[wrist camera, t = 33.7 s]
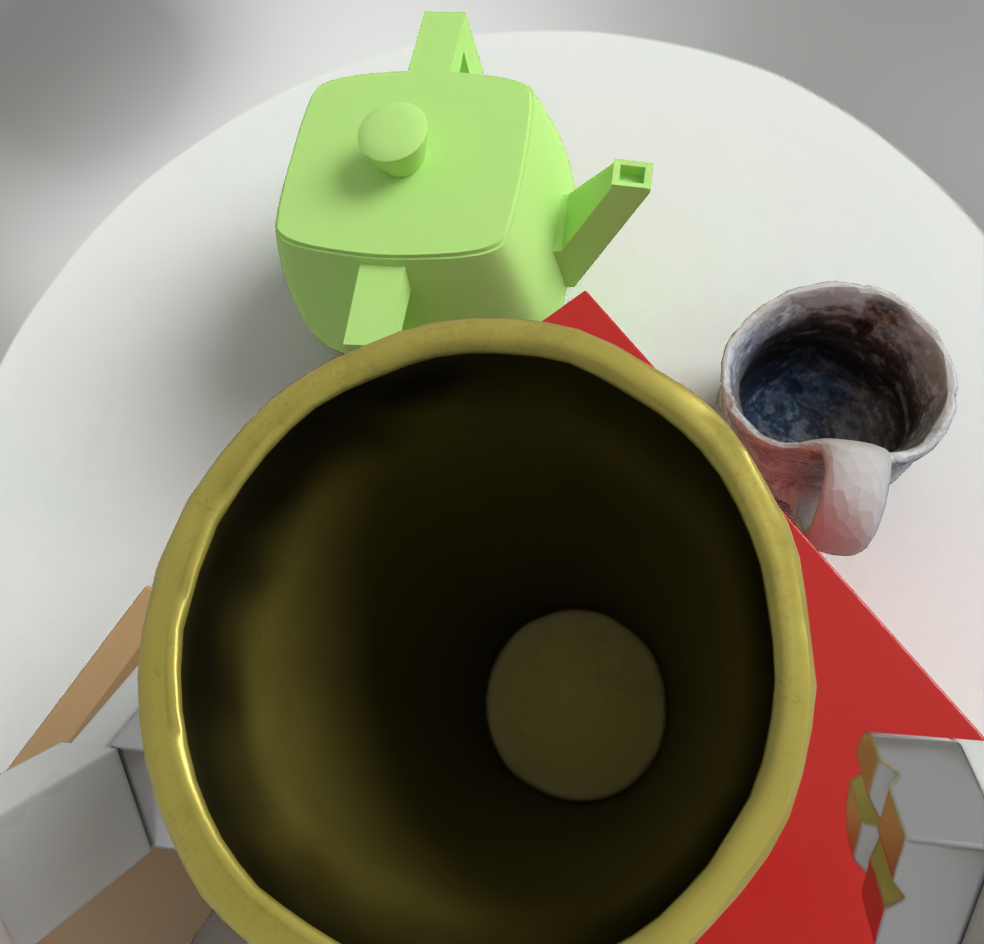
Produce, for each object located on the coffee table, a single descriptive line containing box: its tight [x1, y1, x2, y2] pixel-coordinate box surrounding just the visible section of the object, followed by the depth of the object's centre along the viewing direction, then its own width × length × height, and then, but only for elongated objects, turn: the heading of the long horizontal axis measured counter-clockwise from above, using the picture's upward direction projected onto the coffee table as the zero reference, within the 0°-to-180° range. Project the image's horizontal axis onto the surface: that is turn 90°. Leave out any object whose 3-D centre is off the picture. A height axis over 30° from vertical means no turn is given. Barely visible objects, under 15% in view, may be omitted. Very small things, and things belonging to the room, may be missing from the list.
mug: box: [715, 281, 958, 556], centre depth 36 cm, size 10×12×10 cm
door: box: [6, 586, 213, 944], centre depth 31 cm, size 6×18×20 cm, turn 146°
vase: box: [137, 318, 817, 944], centre depth 13 cm, size 6×6×14 cm
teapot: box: [275, 12, 653, 354], centre depth 40 cm, size 18×20×13 cm
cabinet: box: [543, 291, 984, 944], centre depth 29 cm, size 14×18×20 cm
